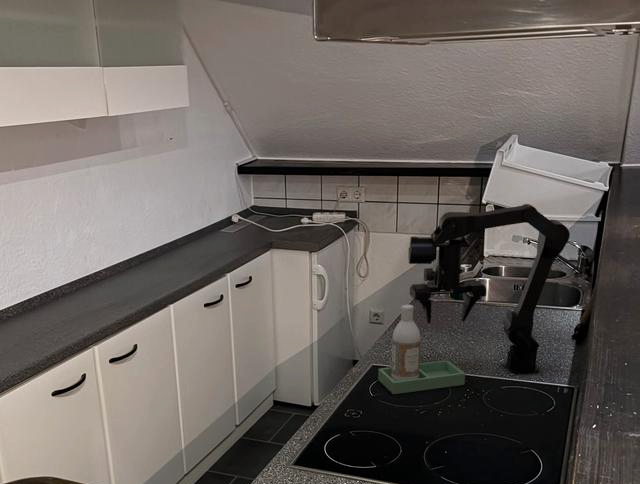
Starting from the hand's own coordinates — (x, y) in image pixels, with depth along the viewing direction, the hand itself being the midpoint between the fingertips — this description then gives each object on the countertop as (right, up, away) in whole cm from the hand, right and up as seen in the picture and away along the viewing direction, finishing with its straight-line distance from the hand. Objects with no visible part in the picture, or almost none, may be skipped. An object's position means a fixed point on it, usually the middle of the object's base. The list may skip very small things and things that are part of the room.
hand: (445, 322), depth 199 cm
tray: (-7, -16, -3) cm, 18 cm away
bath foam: (-11, -16, -5) cm, 20 cm away
